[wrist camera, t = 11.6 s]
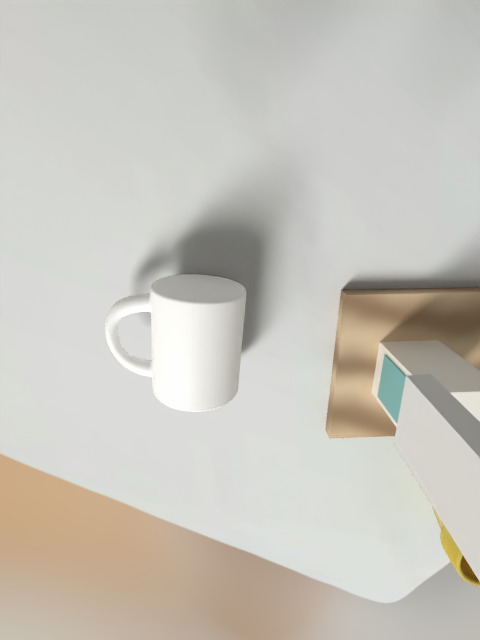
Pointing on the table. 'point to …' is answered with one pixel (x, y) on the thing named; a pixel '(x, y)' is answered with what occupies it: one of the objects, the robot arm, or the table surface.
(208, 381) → the mug
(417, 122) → the table surface
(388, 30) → the table surface
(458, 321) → the shelf board
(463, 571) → the plant pot
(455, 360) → the carton
